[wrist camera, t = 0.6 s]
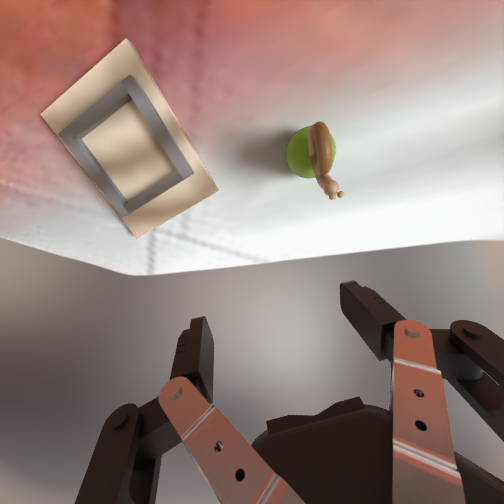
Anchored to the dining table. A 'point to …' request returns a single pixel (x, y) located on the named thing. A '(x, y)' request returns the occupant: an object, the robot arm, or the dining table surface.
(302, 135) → the snail figurine
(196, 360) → the robot arm
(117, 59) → the board
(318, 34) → the dining table surface
